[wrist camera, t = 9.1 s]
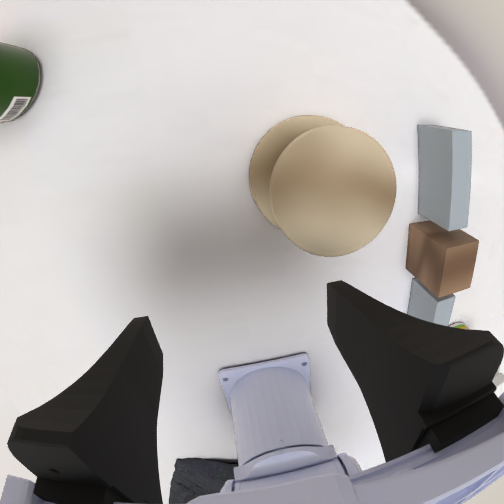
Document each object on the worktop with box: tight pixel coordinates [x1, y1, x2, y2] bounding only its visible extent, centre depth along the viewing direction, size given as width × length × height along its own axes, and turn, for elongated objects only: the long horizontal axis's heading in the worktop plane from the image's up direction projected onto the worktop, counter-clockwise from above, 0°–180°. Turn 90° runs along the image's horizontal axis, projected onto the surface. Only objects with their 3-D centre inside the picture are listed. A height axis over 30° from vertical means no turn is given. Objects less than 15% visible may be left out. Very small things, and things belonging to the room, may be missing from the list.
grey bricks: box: [408, 125, 472, 326], centre depth 22 cm, size 20×2×4 cm, turn 8°
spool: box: [249, 116, 396, 257], centre depth 18 cm, size 8×8×5 cm
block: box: [406, 220, 479, 298], centre depth 22 cm, size 4×4×5 cm
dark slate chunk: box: [169, 458, 239, 504], centre depth 36 cm, size 15×22×5 cm
